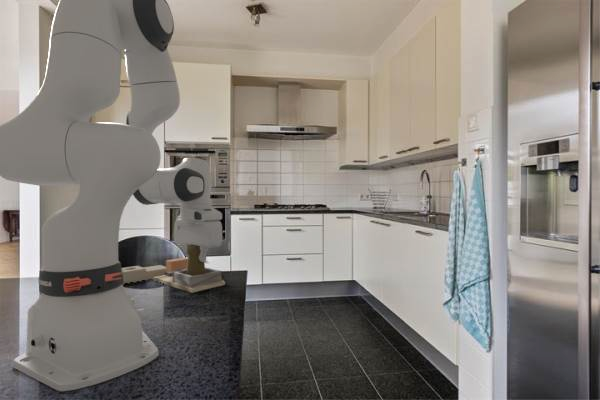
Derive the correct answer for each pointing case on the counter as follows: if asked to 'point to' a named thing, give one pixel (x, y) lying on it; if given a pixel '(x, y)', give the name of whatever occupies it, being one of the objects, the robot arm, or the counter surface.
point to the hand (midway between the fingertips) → (196, 260)
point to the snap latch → (176, 264)
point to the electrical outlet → (142, 273)
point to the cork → (194, 261)
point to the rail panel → (191, 280)
